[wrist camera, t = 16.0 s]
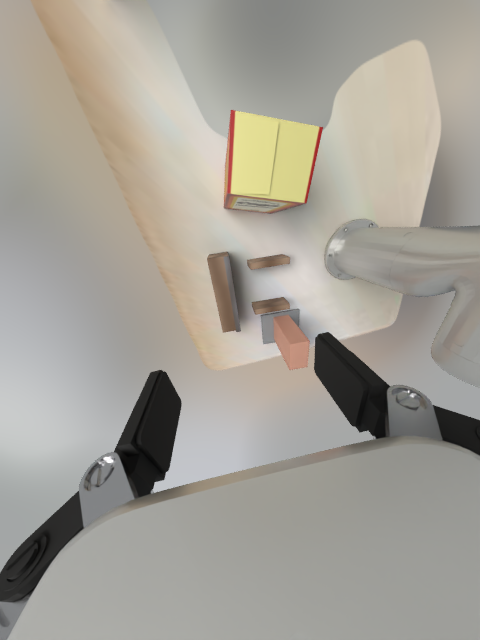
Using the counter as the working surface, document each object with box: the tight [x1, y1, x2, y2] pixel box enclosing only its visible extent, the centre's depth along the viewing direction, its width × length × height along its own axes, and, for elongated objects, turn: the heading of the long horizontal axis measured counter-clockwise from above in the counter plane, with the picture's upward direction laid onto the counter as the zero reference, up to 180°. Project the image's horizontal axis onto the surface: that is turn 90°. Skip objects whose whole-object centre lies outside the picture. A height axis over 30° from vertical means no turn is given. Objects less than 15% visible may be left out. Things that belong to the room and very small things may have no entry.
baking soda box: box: [224, 110, 323, 213], centre depth 25 cm, size 10×6×16 cm
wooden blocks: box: [207, 252, 290, 332], centre depth 38 cm, size 16×16×7 cm
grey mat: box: [261, 309, 299, 344], centre depth 47 cm, size 10×9×1 cm
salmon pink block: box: [273, 315, 310, 370], centre depth 41 cm, size 4×7×12 cm, turn 7°
